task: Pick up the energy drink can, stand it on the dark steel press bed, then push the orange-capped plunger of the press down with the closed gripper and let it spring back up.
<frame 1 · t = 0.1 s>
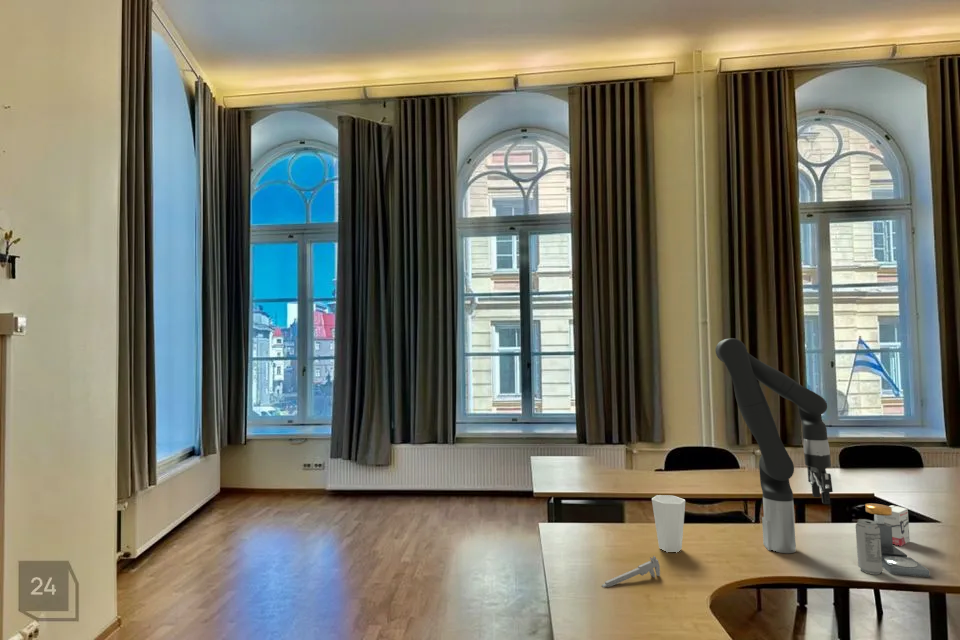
hand: (821, 500, 174), 17 cm above the table, tool pointing down, fingers open, 8 cm apart
caliper: (631, 582, 152), on the table
energy drink can: (870, 571, 158), on the table
press bed: (901, 568, 159), on the table
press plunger: (879, 520, 171), point 11 cm above the table, slide at 0.3 cm
ink box: (897, 542, 181), on the table
cup: (670, 549, 177), on the table
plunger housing: (881, 554, 170), on the table
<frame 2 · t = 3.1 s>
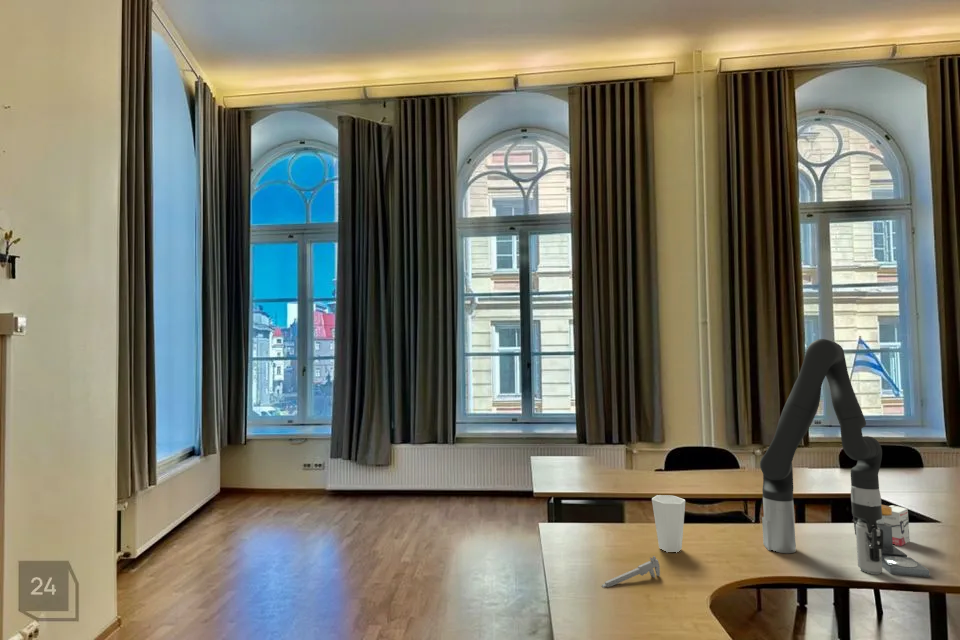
hand: (869, 556, 158), 4 cm above the table, tool pointing down, fingers closed on energy drink can, 6 cm apart
energy drink can: (870, 571, 158), on the table, touching gripper
everything else where it was.
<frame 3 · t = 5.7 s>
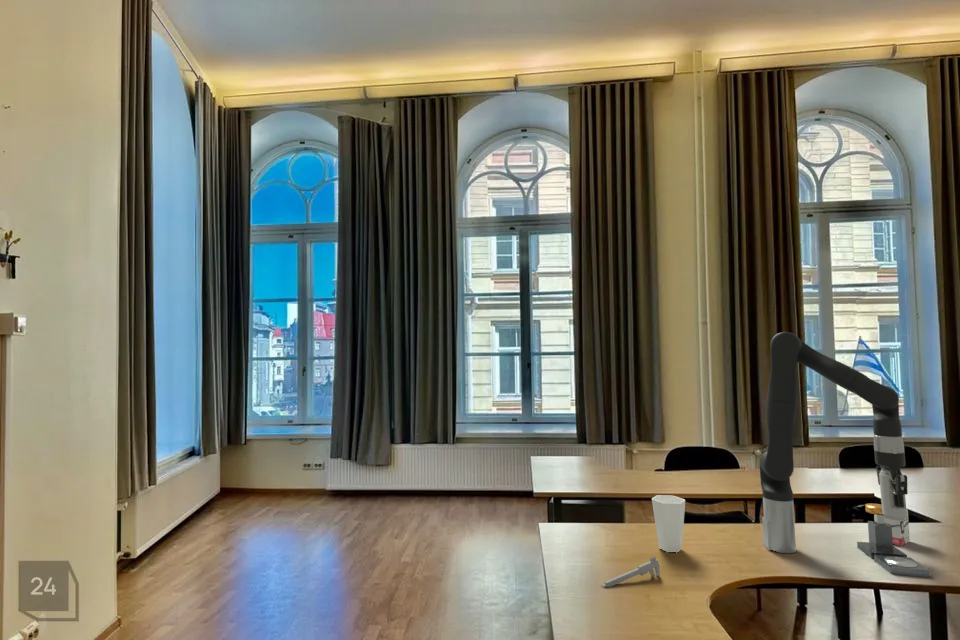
hand: (893, 503, 160), 20 cm above the table, tool pointing down, fingers closed on energy drink can, 6 cm apart
energy drink can: (894, 518, 159), point 15 cm above the table, touching gripper
everything else where it was.
when the fingers open (8 cm above the table, at t = 8.6 s): energy drink can drops 1 cm, resting on press bed.
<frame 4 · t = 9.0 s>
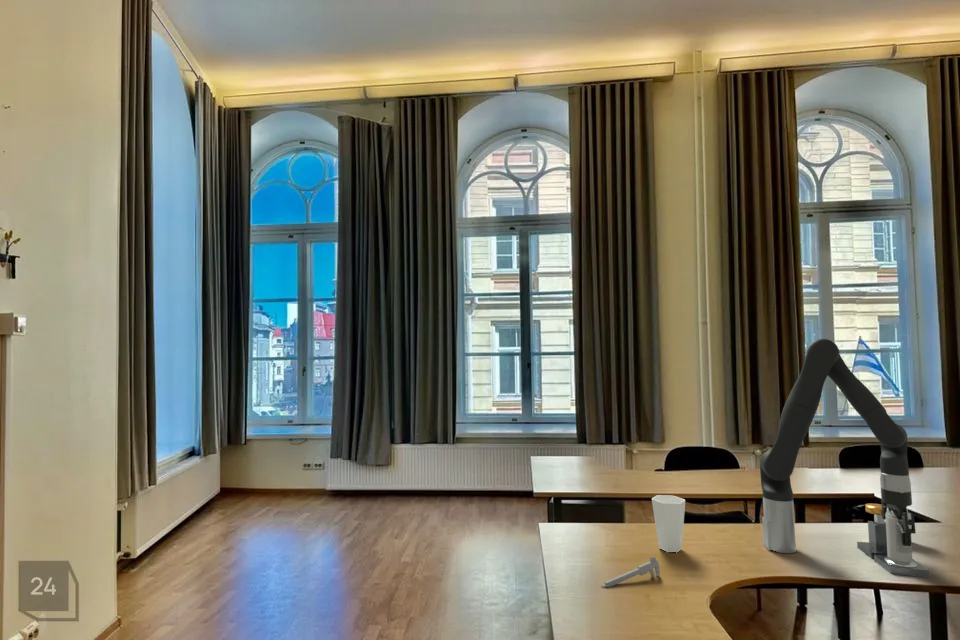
hand: (899, 540, 159), 9 cm above the table, tool pointing down, fingers open, 8 cm apart
energy drink can: (900, 561, 159), point 2 cm above the table, touching press bed
everything else where it was.
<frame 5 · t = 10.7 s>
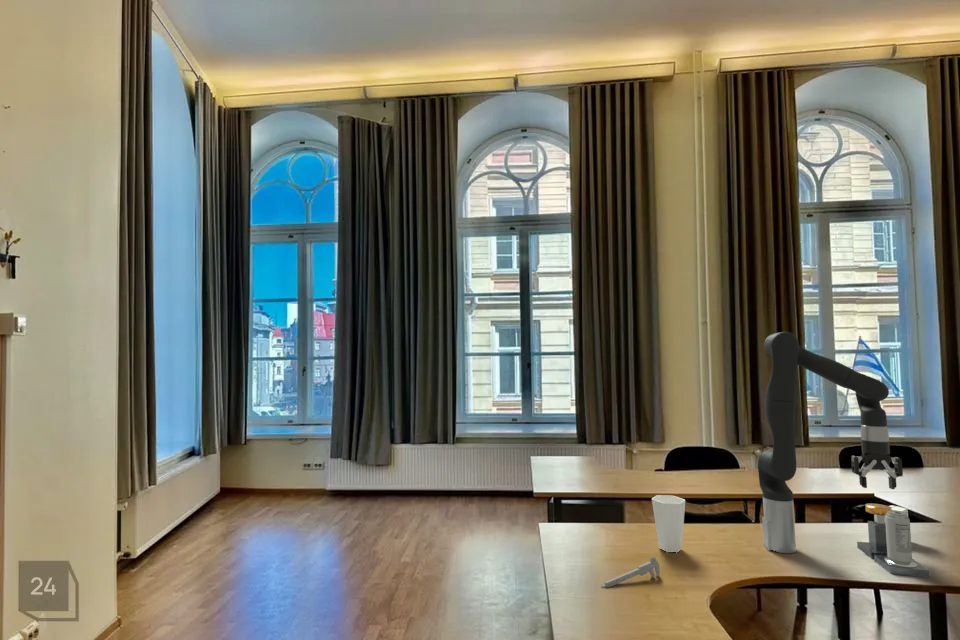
hand: (877, 488, 172), 22 cm above the table, tool pointing down, fingers open, 7 cm apart
nothing on the table moved.
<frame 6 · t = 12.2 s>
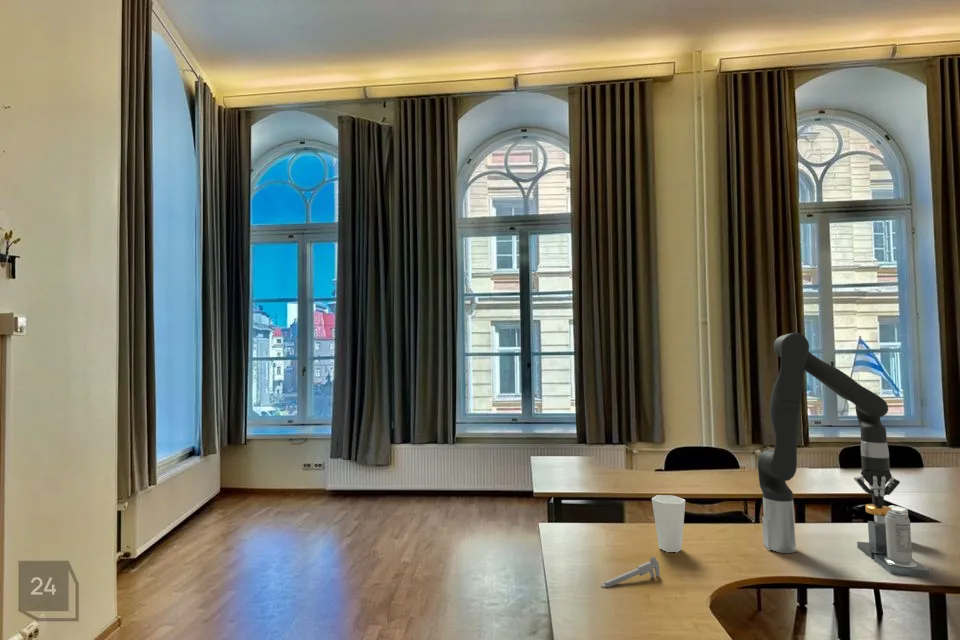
hand: (878, 506, 172), 16 cm above the table, tool pointing down, fingers closed
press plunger: (879, 520, 171), point 11 cm above the table, slide at 0.5 cm, touching gripper
everything else where it was.
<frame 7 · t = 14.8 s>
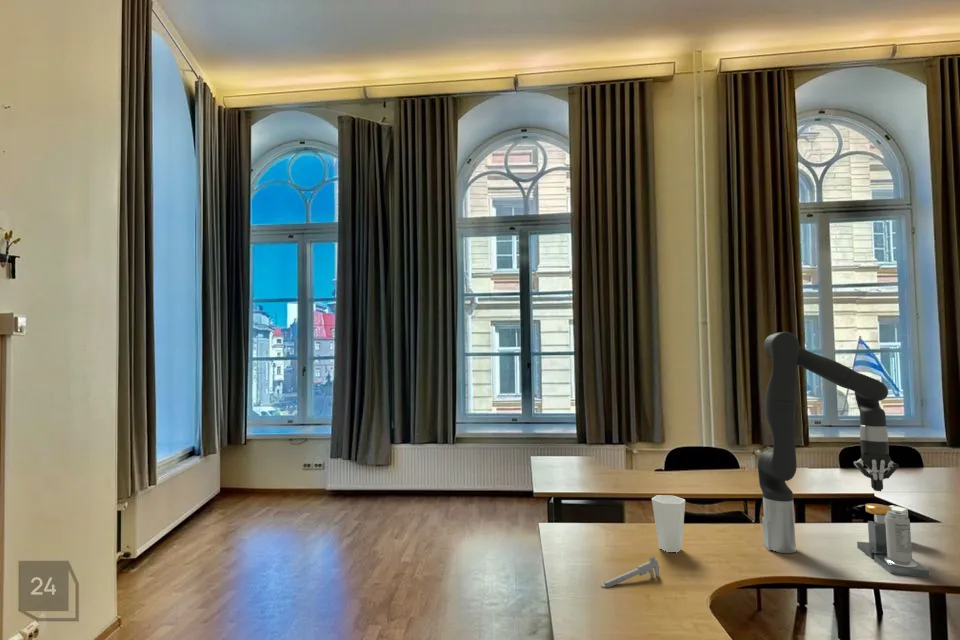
hand: (877, 490, 172), 21 cm above the table, tool pointing down, fingers closed
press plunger: (879, 520, 171), point 11 cm above the table, slide at 0.3 cm
everything else where it was.
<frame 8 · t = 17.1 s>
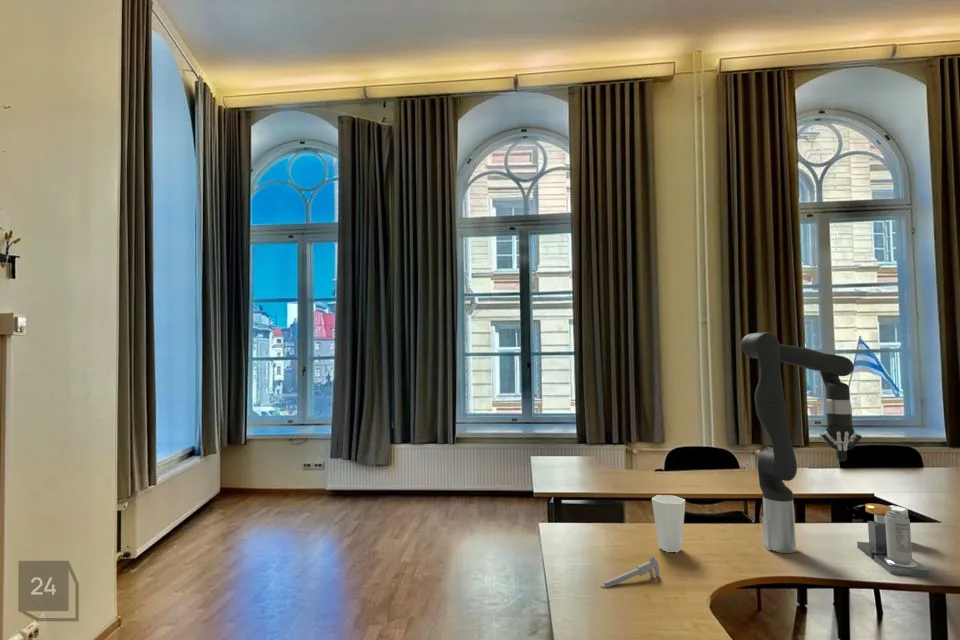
hand: (841, 460, 182), 29 cm above the table, tool pointing down, fingers closed
nothing on the table moved.
at the end: energy drink can 0.1 cm off-centre on the press bed, point 2.0 cm above the press bed's base; energy drink can tilted 1°; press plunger slide at 0.3 cm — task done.
